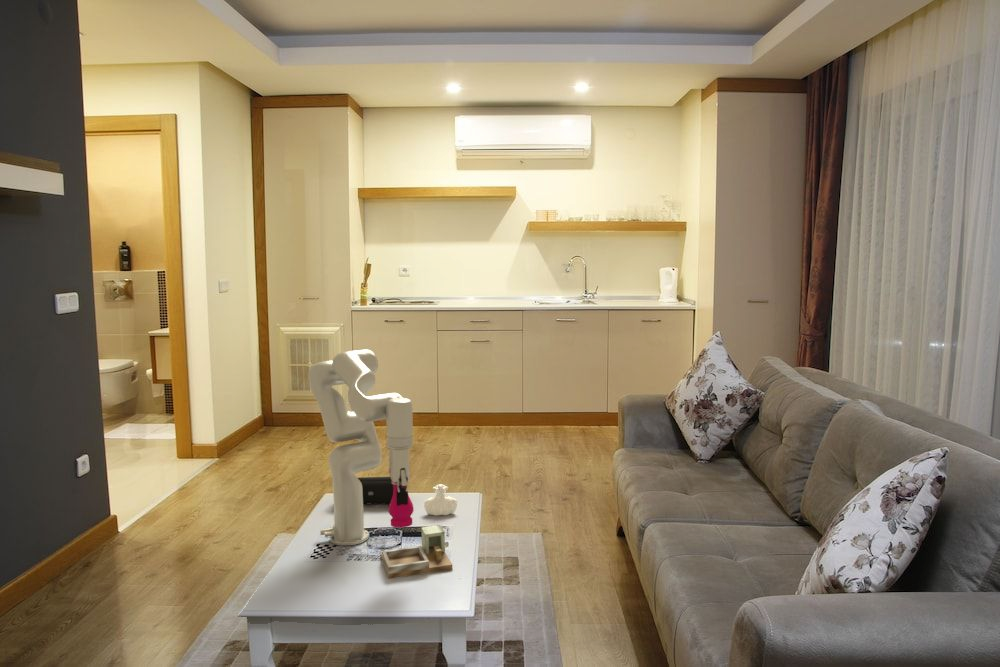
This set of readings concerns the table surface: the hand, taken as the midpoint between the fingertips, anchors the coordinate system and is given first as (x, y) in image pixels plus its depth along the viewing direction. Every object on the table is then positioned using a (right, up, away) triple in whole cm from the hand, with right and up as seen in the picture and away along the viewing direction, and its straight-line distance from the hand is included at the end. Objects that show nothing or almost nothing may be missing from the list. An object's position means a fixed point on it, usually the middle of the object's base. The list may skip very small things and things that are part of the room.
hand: (400, 500), depth 209 cm
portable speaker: (-19, -16, +61) cm, 66 cm away
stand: (+4, -21, +8) cm, 23 cm away
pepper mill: (0, -7, 0) cm, 7 cm away
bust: (+8, -17, +50) cm, 53 cm away
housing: (+8, -19, +14) cm, 25 cm away
